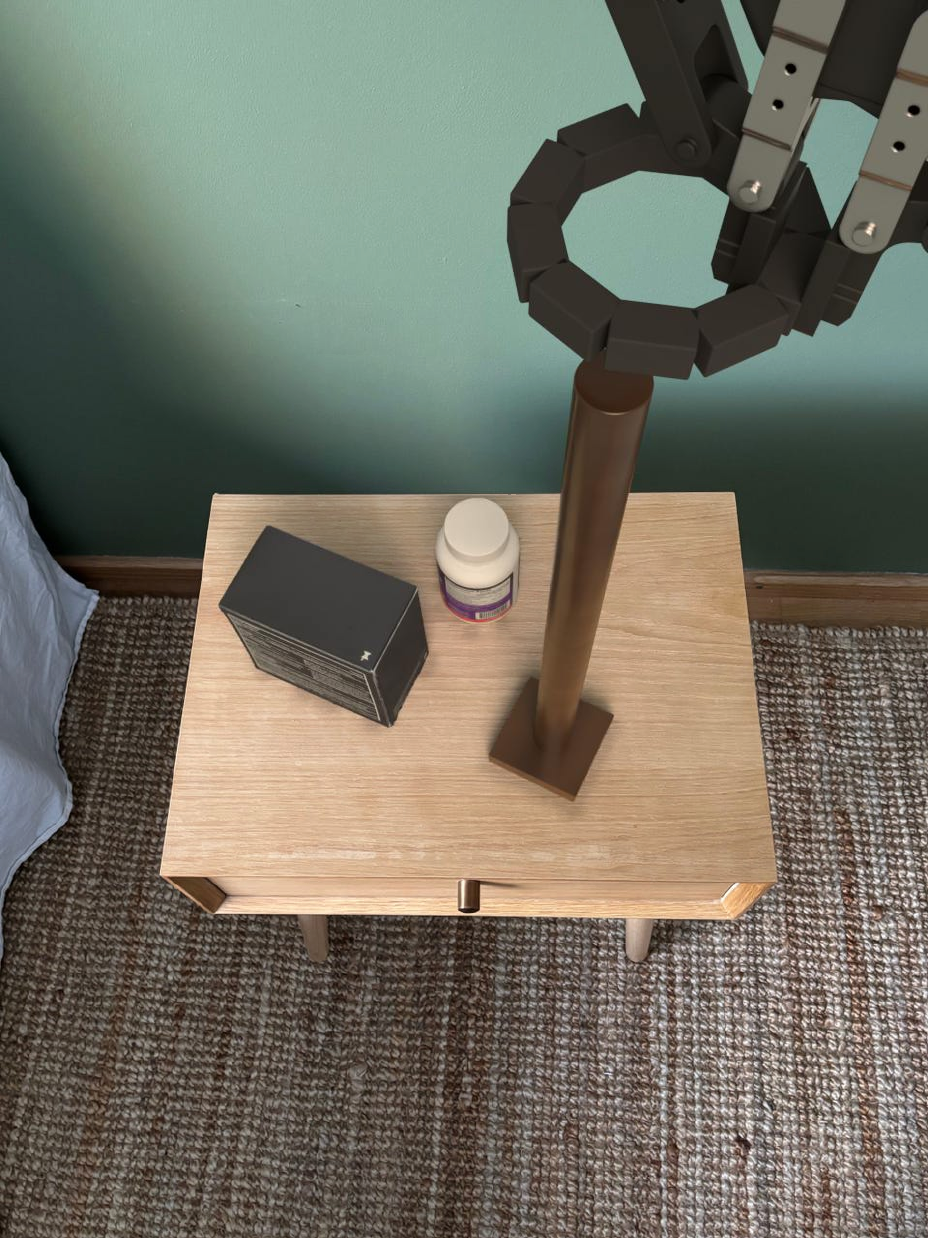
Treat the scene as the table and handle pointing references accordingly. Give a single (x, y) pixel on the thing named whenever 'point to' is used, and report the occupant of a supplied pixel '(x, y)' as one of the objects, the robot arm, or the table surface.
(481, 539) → the pill bottle
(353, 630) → the small box
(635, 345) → the ring
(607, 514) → the brown upright dowel
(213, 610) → the table surface
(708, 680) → the table surface
